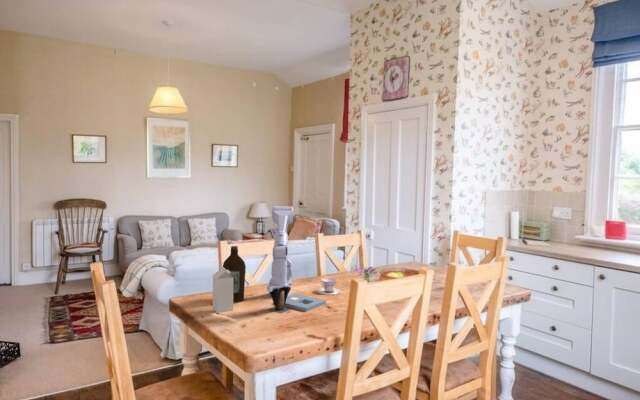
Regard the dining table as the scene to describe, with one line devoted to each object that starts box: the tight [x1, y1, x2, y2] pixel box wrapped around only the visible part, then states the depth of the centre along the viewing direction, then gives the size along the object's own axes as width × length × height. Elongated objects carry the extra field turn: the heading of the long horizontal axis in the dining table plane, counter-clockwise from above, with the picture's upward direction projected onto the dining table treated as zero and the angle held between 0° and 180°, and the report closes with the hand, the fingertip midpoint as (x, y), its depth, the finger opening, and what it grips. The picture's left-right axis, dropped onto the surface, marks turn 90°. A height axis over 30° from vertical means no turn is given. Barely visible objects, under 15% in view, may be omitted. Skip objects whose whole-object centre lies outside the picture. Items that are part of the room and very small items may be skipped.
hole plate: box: [284, 293, 327, 313], centre depth 198 cm, size 18×15×3 cm
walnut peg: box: [274, 290, 285, 311], centre depth 189 cm, size 4×4×8 cm
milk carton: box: [212, 265, 234, 315], centre depth 187 cm, size 7×7×19 cm
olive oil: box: [222, 245, 247, 303], centre depth 205 cm, size 11×11×25 cm
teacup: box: [317, 277, 342, 296], centre depth 223 cm, size 12×12×6 cm
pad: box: [266, 306, 292, 314], centre depth 189 cm, size 8×8×1 cm
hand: (279, 304), depth 189 cm, fingers closed on walnut peg, 4 cm apart
